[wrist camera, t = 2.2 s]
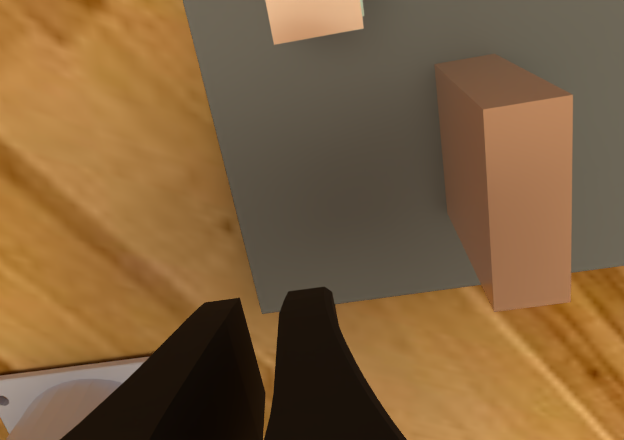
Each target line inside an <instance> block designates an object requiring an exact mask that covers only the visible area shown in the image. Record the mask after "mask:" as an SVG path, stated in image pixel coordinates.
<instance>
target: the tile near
mask: <svg viewBox="0 0 624 440" xmlns="http://www.w3.org/2000/svg"><path fill="white" fill-rule="evenodd" d="M265 2H266V7H267V12H268V17H269V22H270V27H271V32H272V37H273V42H274V45H276V44H281V43H287V42H292V41H298V40H303V39H309V38H314V37H320V36H325V35H331V34H336V33H341V32H347V31H352V30H358V29H363V28H364V27H363V19H362V16H364V8H363V0H265Z"/></svg>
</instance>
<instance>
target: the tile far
mask: <svg viewBox="0 0 624 440" xmlns="http://www.w3.org/2000/svg"><path fill="white" fill-rule="evenodd" d="M434 66H435V77H436V89H437V100H438V111H439V123H440V134H441V146H442V157H443V169H444V180H445V192H446V203H447V213H448V215H449V218H450V220H451V222H452V224H453V226H454V228H455V230H456V232H457V235H458V237H459V239H460V241H461V243H462V245H463V247H464V249H465V251H466V254H467V256H468V258H469V260H470V262H471V264H472V266H473V268H474V270H475V273H476V275H477V277H478V279H479V281H480V283H481V285H482V287H483V289H484V292H485V294H486V296H487V298H488V300H489V302H490V304H491V306H492V308H493V311H494V312H497V311H505V310H513V309H520V308H528V307H536V306H544V305H551V304H559V303H567V302H571V233H572V139H573V95H572V94H571V93H569V92H567V91H565V90H563V89H561V88H559V87H557V86H555V85H553V84H551V83H550V82H548V81H546V80H544V79H542V78H540V77H538V76H536V75H534V74H532V73H530V72H529V71H527V70H525V69H523V68H521V67H519V66H517V65H515V64H513V63H511V62H509V61H508V60H506V59H504V58H502V57H500V56H498V55H496V54H490V55H484V56H478V57H473V58H467V59H461V60H455V61H450V62H444V63H438V64H434Z"/></svg>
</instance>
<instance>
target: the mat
mask: <svg viewBox="0 0 624 440" xmlns="http://www.w3.org/2000/svg"><path fill="white" fill-rule="evenodd" d="M183 3H184V7H185V11H186V15H187V19H188V23H189V27H190V31H191V35H192V39H193V43H194V47H195V51H196V54H197V58H198V62H199V66H200V70H201V74H202V78H203V82H204V86H205V90H206V94H207V98H208V102H209V106H210V110H211V114H212V118H213V122H214V126H215V130H216V134H217V138H218V142H219V145H220V149H221V153H222V157H223V161H224V165H225V169H226V173H227V177H228V181H229V185H230V189H231V193H232V197H233V201H234V205H235V209H236V213H237V217H238V221H239V225H240V229H241V233H242V236H243V240H244V244H245V248H246V252H247V256H248V260H249V264H250V268H251V272H252V276H253V280H254V284H255V288H256V292H257V296H258V300H259V304H260V308H261V312H262V314H265V313H273V312H280V310H281V307H282V304H283V301H284V299H285V297H286V295H287V293H288V291H295V290H302V289H309V288H317V287H324V286H325V287H326V288H328V289H329V290H330V291H332V293H333V298H334V303H335V304H340V303H348V302H355V301H362V300H370V299H377V298H385V297H392V296H400V295H407V294H415V293H422V292H430V291H437V290H445V289H452V288H460V287H467V286H475V285H481V283H480V281H479V279H478V277H477V275H476V273H475V270H474V268H473V266H472V264H471V262H470V260H469V258H468V256H467V254H466V251H465V249H464V247H463V245H462V243H461V241H460V239H459V237H458V235H457V232H456V230H455V228H454V226H453V224H452V222H451V220H450V218H449V215H448V213H447V203H446V192H445V180H444V169H443V157H442V146H441V134H440V123H439V111H438V100H437V89H436V77H435V66H434V64H438V63H444V62H450V61H455V60H461V59H467V58H473V57H478V56H484V55H490V54H496V55H498V56H500V57H502V58H504V59H506V60H508V61H509V62H511V63H513V64H515V65H517V66H519V67H521V68H523V69H525V70H527V71H529V72H530V73H532V74H534V75H536V76H538V77H540V78H542V79H544V80H546V81H548V82H550V83H551V84H553V85H555V86H557V87H559V88H561V89H563V90H565V91H567V92H569V93H571V94H572V95H573V139H572V233H571V273H572V272H580V271H587V270H595V269H602V268H610V267H617V266H624V0H363V8H364V16H362V19H363V27H364V28H363V29H358V30H352V31H347V32H341V33H336V34H331V35H325V36H320V37H314V38H309V39H303V40H298V41H292V42H287V43H281V44H276V45H274V42H273V37H272V32H271V27H270V22H269V17H268V12H267V7H266V2H265V0H183Z"/></svg>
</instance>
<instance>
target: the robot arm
mask: <svg viewBox="0 0 624 440" xmlns="http://www.w3.org/2000/svg"><path fill="white" fill-rule="evenodd" d="M3 396H4V397H6V398H7V399H6V398H4V397H3ZM264 410H265V390H264V386H263V382H262V379H261V375H260V371H259V368H258V364H257V360H256V356H255V353H254V349H253V345H252V342H251V338H250V334H249V330H248V327H247V323H246V319H245V316H244V312H243V308H242V305H241V301H240V298H235V299H228V300H220V301H213V302H206V303H204V304H203V305H202V306H200V307H199V308H198V309H197V310H196V311H195V312H194V313H193V314H192V315H191V316H190V317H189V318H188V319H187V320H186V321H185V322H184V323H183V324H182V325H181V326H180V327H179V328H178V329H177V330H176V331H175V332H174V333H173V334H172V335H171V336H170V337H169V338H168V339H167V340H166V341H165V342H164V343H163V344H162V345H161V346H160V347H159V348H158V349H157V350H156V351H155V352H154V353H153V354H152V355H151V356H150V357H142V358H134V359H126V360H119V361H111V362H103V363H95V364H87V365H80V366H72V367H64V368H56V369H49V370H41V371H33V372H25V373H17V374H10V375H2V376H0V417H1V419H2V421H3V423H4V425H5V427H6V429H7V431H8V433H9V436H8V437H7V438H6V440H263V428H264ZM264 440H407V439H406V438H405V437H404V435H403V434H402V433H401V431H400V430H399V429H398V427H397V426H396V425H395V423H394V422H393V421H392V419H391V418H390V416H389V415H388V414H387V412H386V411H385V409H384V408H383V406H382V405H381V403H380V402H379V400H378V399H377V397H376V396H375V394H374V392H373V391H372V389H371V387H370V386H369V384H368V383H367V381H366V379H365V378H364V376H363V374H362V372H361V371H360V369H359V367H358V365H357V364H356V362H355V360H354V358H353V356H352V354H351V352H350V350H349V348H348V346H347V344H346V342H345V339H344V337H343V335H342V333H341V330H340V328H339V324H338V319H337V314H336V309H335V303H334V298H333V293H332V291H330V290H329V289H328V288H326V287H325V286H324V287H317V288H309V289H302V290H295V291H288V293H287V295H286V297H285V299H284V301H283V304H282V307H281V310H280V313H279V324H278V337H277V351H276V366H275V381H274V394H273V401H272V407H271V414H270V418H269V422H268V426H267V430H266V434H265V438H264Z"/></svg>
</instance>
